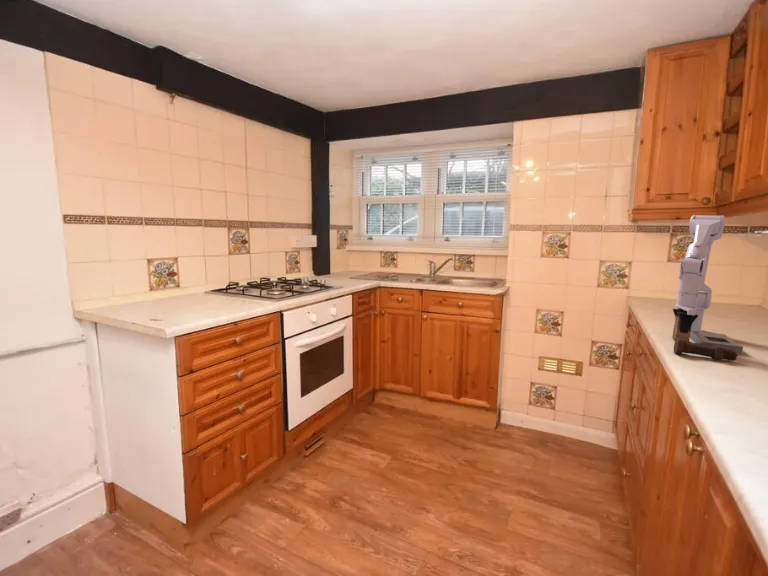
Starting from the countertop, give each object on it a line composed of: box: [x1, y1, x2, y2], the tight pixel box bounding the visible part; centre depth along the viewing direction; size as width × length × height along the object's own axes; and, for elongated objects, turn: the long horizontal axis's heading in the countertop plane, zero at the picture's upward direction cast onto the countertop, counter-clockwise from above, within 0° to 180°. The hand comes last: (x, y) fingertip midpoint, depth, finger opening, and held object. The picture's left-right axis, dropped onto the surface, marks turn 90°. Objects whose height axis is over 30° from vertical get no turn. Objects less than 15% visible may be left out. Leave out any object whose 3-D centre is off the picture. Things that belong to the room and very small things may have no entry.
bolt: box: [673, 338, 739, 362], centre depth 123 cm, size 6×5×15 cm
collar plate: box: [690, 331, 744, 355], centre depth 136 cm, size 16×10×2 cm, turn 156°
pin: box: [671, 316, 692, 343], centre depth 140 cm, size 4×4×8 cm
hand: (681, 331), depth 140 cm, fingers closed on pin, 4 cm apart
